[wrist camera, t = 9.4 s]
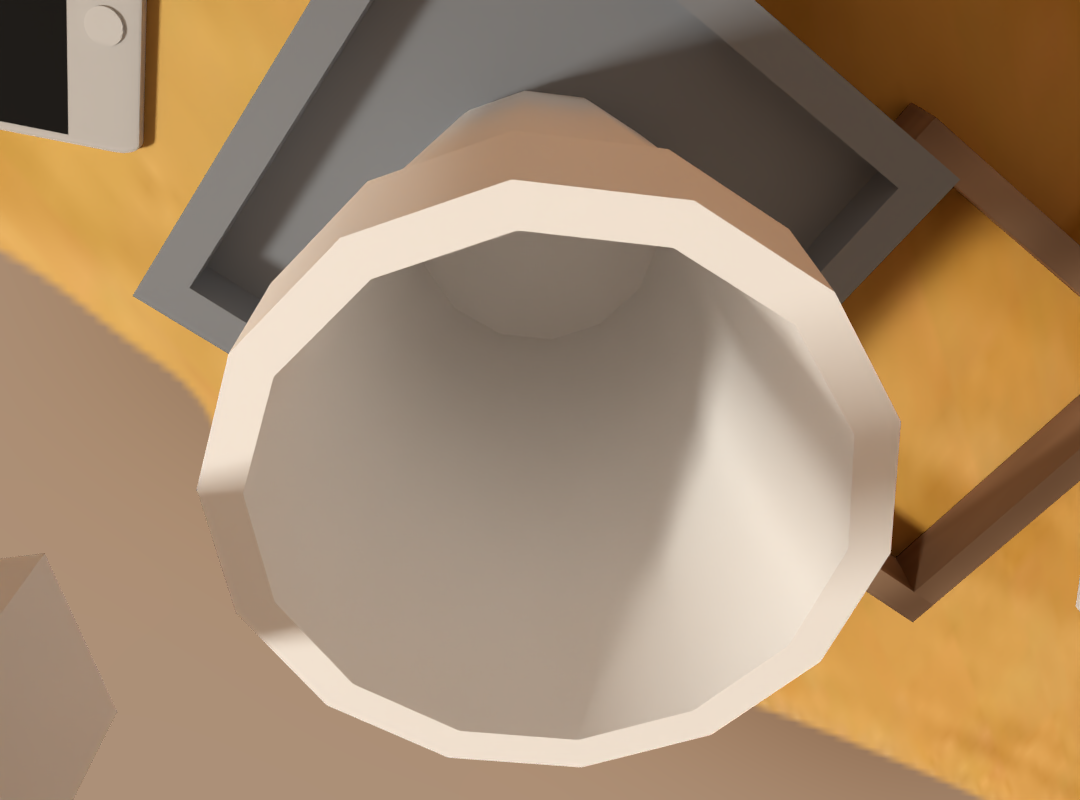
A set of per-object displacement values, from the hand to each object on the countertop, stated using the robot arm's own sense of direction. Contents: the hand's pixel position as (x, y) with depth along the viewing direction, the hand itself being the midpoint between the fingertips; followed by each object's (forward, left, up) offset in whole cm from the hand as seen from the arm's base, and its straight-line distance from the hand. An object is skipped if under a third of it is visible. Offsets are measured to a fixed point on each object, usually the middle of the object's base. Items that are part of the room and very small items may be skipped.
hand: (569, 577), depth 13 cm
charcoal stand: (0, 0, -20) cm, 20 cm away
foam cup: (0, 0, -14) cm, 14 cm away
